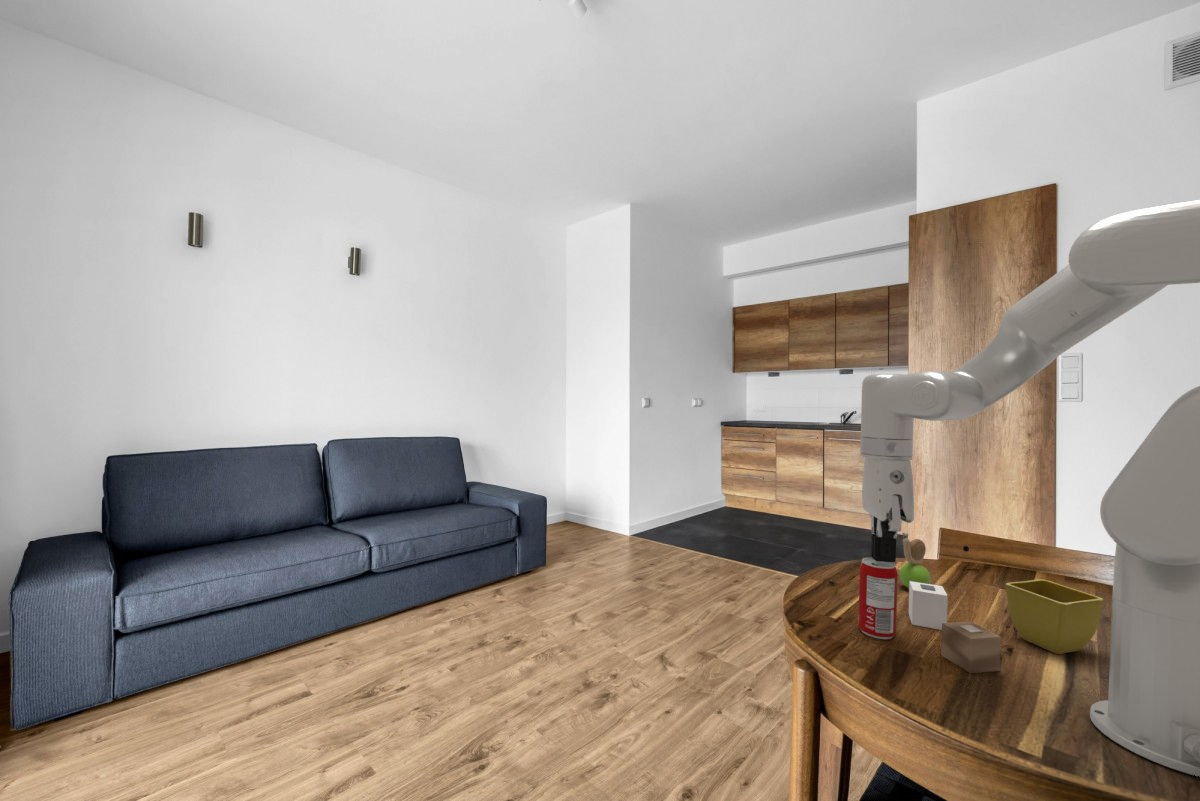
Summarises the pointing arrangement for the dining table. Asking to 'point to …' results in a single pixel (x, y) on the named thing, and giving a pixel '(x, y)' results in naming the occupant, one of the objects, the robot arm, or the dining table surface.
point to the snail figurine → (914, 562)
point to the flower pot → (1053, 614)
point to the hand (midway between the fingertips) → (883, 560)
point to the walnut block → (971, 647)
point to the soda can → (877, 598)
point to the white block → (927, 605)
